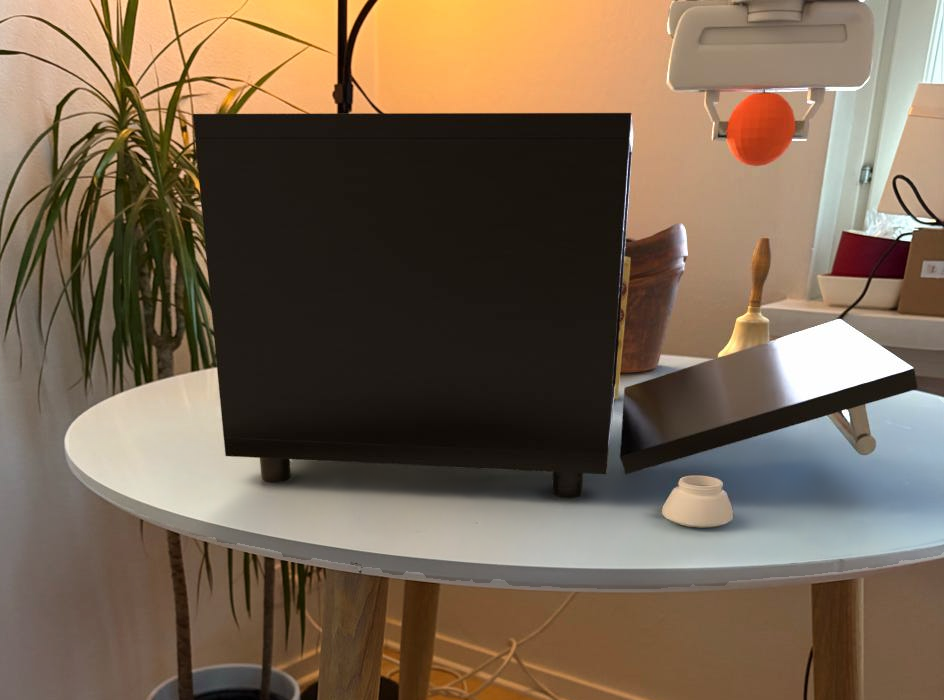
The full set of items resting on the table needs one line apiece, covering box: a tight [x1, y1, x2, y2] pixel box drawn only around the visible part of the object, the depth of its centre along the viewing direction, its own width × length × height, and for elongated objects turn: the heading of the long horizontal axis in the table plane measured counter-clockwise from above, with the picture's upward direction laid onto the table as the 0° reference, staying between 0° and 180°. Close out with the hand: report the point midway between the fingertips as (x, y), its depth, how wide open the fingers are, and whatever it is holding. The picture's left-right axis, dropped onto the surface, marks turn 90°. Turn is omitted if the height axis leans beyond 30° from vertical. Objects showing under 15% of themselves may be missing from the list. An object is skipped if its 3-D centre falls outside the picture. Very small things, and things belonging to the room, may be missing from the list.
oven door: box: [619, 318, 918, 476], centre depth 85 cm, size 7×28×21 cm
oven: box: [192, 112, 634, 499], centre depth 85 cm, size 30×30×26 cm
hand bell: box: [717, 236, 773, 358], centre depth 136 cm, size 8×8×16 cm
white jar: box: [661, 475, 734, 529], centre depth 71 cm, size 5×3×5 cm
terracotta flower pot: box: [620, 223, 689, 373], centre depth 129 cm, size 18×20×18 cm
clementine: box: [726, 90, 796, 167], centre depth 103 cm, size 8×7×7 cm
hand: (759, 140), depth 104 cm, fingers closed on clementine, 7 cm apart
